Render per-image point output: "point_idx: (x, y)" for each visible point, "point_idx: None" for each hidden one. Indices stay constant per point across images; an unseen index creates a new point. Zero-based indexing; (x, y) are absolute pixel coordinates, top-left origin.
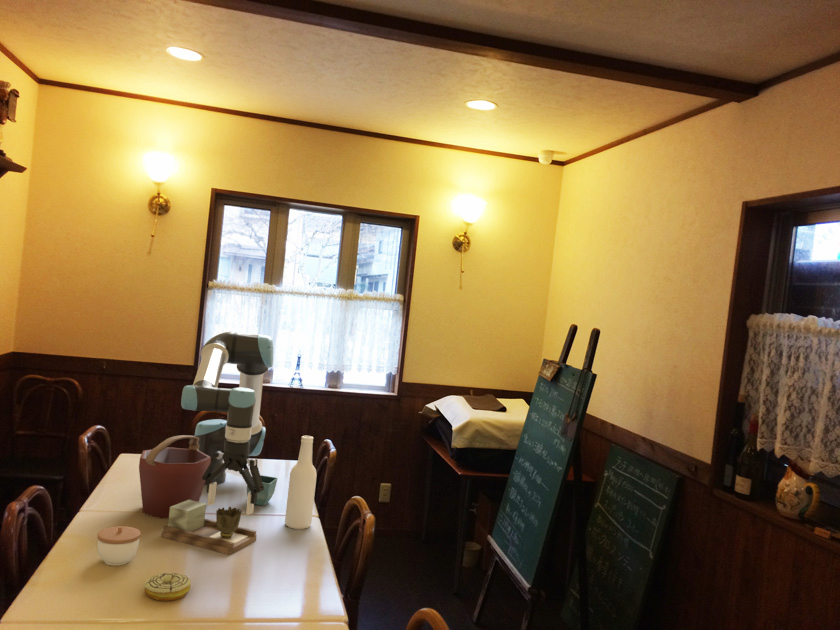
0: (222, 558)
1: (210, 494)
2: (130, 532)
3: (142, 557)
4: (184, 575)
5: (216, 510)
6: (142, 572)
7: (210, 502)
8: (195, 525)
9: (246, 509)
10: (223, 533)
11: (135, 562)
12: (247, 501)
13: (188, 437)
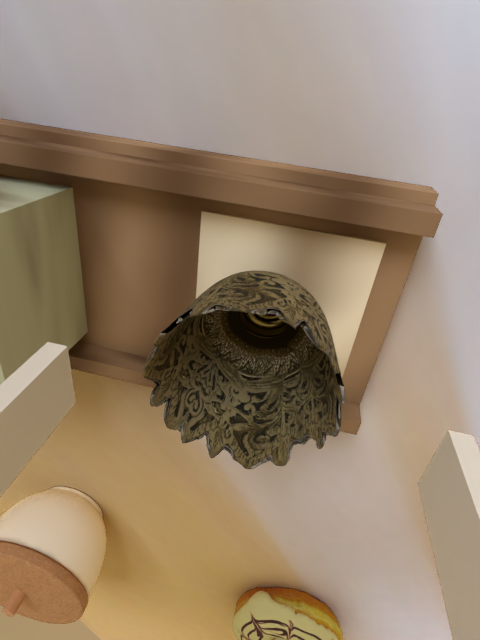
0: (335, 439)
1: (15, 477)
2: (42, 590)
3: (105, 479)
4: (310, 634)
5: (152, 401)
6: (172, 544)
7: (62, 409)
8: (67, 274)
9: (427, 525)
10: (259, 339)
11: (115, 505)
12: (449, 613)
13: None
